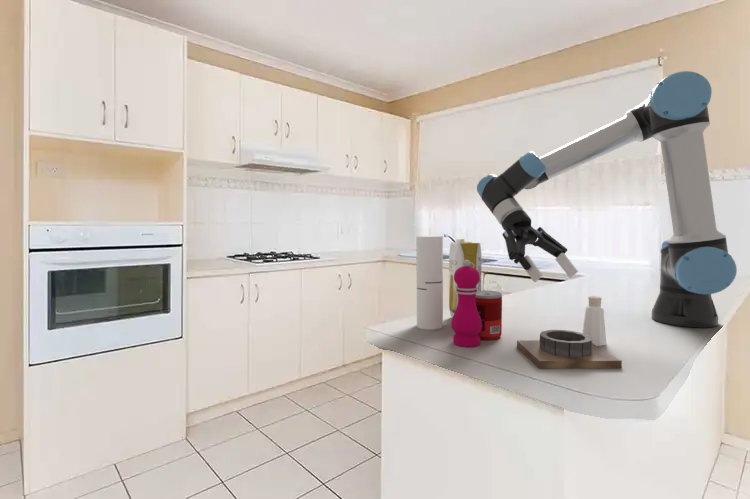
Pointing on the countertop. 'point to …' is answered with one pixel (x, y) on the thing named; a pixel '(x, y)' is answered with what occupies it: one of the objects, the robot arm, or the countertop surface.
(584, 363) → the collar plate
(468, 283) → the pepper mill
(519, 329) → the countertop surface
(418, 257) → the cylindrical container
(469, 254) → the juice carton
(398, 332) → the countertop surface
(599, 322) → the pepper shaker
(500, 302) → the canned food
